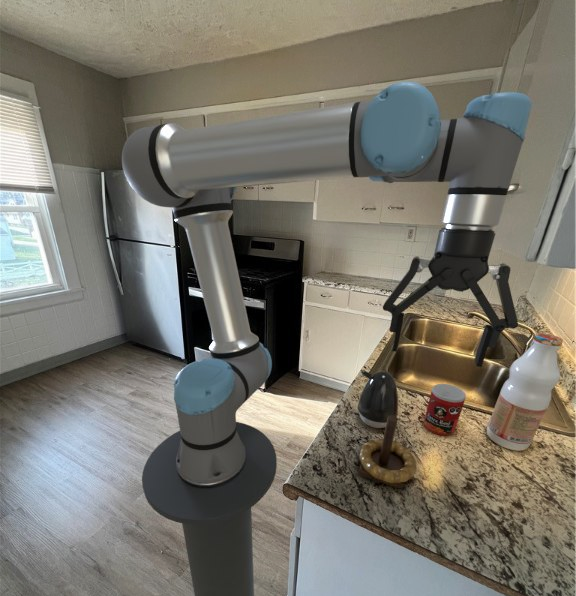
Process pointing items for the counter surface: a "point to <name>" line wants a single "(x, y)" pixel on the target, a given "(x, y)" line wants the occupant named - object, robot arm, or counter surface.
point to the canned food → (444, 409)
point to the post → (386, 454)
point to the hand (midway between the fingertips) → (434, 355)
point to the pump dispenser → (378, 399)
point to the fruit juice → (526, 394)
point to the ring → (386, 474)
